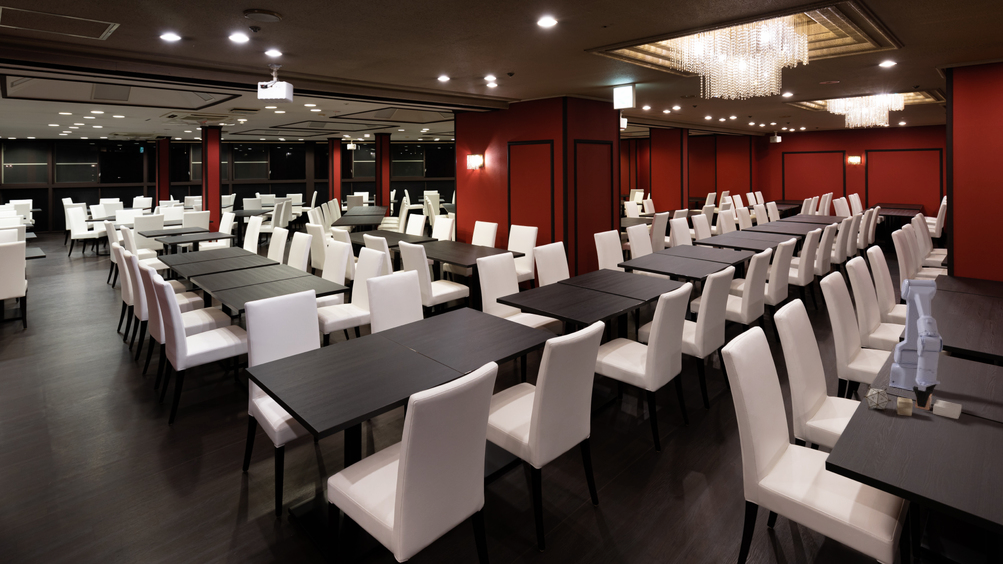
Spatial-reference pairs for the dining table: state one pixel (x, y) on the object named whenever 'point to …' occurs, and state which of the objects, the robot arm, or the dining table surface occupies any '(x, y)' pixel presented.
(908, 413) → the maple block
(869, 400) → the game die
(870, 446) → the dining table surface
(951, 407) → the slab
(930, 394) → the terracotta block
